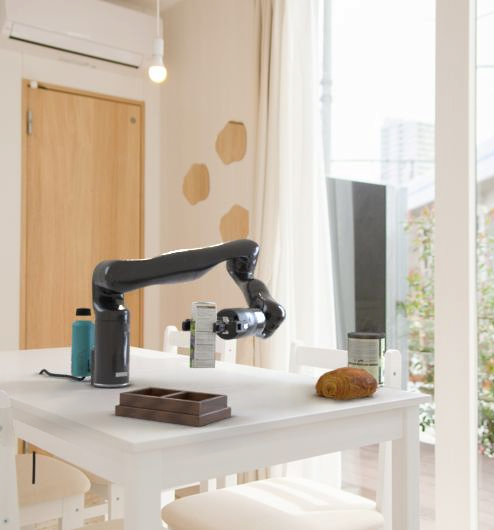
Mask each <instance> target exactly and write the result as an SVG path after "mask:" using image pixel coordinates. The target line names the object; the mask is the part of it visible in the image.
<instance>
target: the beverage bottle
mask: <svg viewBox="0 0 494 530" xmlns="http://www.w3.org/2000/svg"><path fill="white" fill-rule="evenodd" d="M75 310H76V311H75V316H77V317H91V316H92V310H91V308H89V307H79V308H76V309H75ZM94 341H95V322H93V320H90V319H76V320H74V321H73V322H72V324H71V347H70V354H71V355H70V375H72V376H75V377H78V378H81V377H86V378H87V377H91V373H90V372H88V369H90V364H91V350H92V349H93V348H94Z"/></svg>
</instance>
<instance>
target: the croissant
mask: <svg viewBox="0 0 494 530" xmlns="http://www.w3.org/2000/svg"><path fill="white" fill-rule="evenodd" d="M377 388H378V387H377V380H376V379H375V378H374V377H373V376H372V375H371V374H370V373H368V372H367V371H366V370H364V369H359V368H353V367H348V366H344V367H339V368H336V369H333V370H330V371H326V372H324V373H323V374H322V375H320V376H319V378H318V379H317V381H316V383H315V393H316V394H317V395H319V397H324V398H328V399H330V400H331V399H332V400H336V401H337V400H338V401H344V400H354V399H360V398H365V397H369V396H373V395H374V394H375V393H376V392H377Z"/></svg>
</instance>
